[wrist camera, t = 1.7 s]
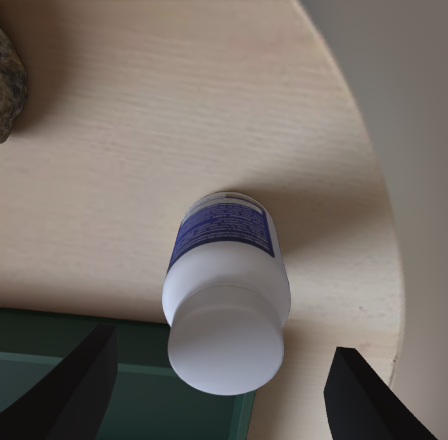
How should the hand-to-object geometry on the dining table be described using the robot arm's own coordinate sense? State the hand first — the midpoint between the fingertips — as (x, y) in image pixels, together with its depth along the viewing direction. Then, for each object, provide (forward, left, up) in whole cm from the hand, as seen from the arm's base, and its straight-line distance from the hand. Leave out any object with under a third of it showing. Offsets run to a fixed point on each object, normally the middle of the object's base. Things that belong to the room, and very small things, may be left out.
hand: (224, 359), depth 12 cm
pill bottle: (0, 0, -9) cm, 9 cm away
